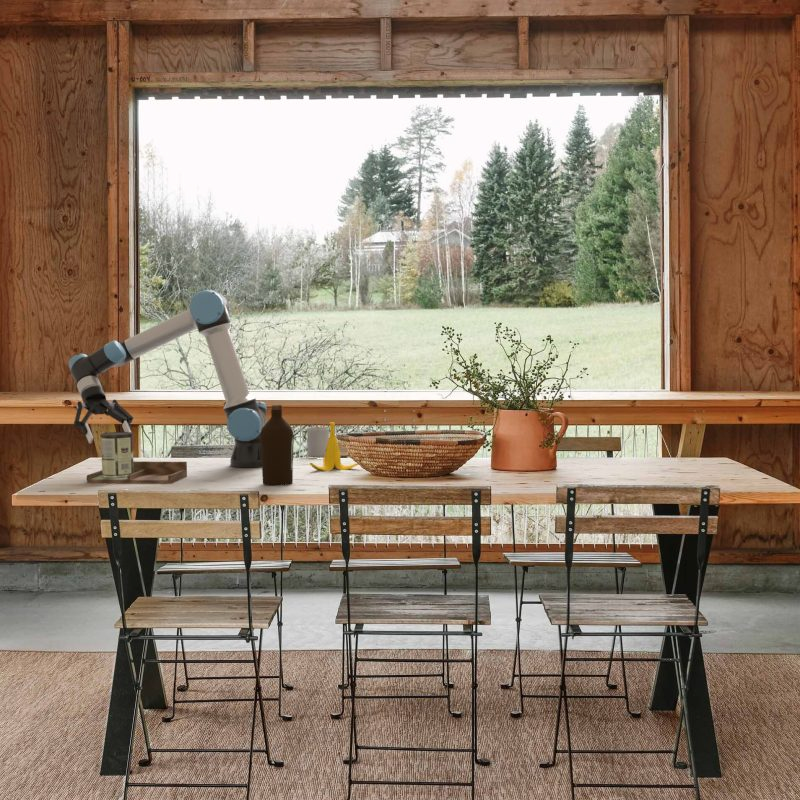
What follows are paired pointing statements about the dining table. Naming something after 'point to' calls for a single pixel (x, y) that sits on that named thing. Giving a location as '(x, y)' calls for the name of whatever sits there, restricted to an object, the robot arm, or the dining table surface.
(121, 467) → the coffee can
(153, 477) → the tray
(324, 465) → the banana peel
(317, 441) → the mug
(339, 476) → the dining table surface
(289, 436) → the olive oil
